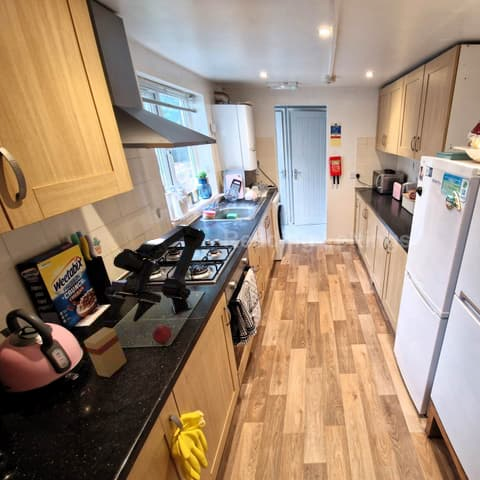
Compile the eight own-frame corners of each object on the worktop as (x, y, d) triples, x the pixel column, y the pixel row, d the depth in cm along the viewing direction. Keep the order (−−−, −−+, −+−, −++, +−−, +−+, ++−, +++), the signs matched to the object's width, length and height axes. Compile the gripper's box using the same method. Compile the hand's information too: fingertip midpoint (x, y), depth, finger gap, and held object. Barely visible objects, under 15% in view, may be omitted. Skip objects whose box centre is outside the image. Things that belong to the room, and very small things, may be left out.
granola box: (97, 375, 85) (83, 341, 80) (116, 359, 91) (103, 327, 86) (109, 377, 84) (95, 343, 79) (127, 361, 90) (115, 328, 85)
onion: (165, 349, 95) (160, 331, 92) (151, 346, 96) (146, 329, 93) (176, 338, 101) (172, 321, 98) (163, 335, 102) (158, 319, 99)
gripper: (100, 266, 90) (78, 313, 84) (146, 272, 87) (126, 320, 81) (126, 275, 100) (108, 317, 95) (169, 280, 97) (153, 324, 91)
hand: (123, 319), depth 90 cm, fingers open, 9 cm apart
